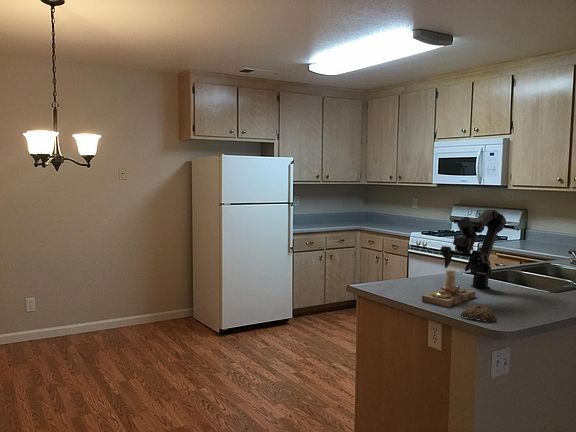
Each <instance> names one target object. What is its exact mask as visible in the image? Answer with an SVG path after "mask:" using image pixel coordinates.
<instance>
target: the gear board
mask: <svg viewBox="0 0 576 432" xmlns="http://www.w3.org/2000/svg"><path fill="white" fill-rule="evenodd" d="M437 291H444V290H441V289H438V290H436V291H434V292H437ZM444 292H445V291H444ZM475 297H476V291H475V290H472V289H471V290H470V289H467V290H466V292H461V293H459V292H454V295H453V296H452V295H451V298H446V299H443V298H436V297H434V296H432V292H429V293H426V294H422V295H421V302H423V303H428V304H433V305H437V306H441V307H445V306H446V307H445V308H450V307H452V305H453V306H455V305H458V304H461V303H463V302H465V300H466V301H467V300H470V298H471V299H473V298H475ZM462 301H463V302H462ZM457 303H458V304H457ZM454 304H455V305H454ZM449 306H450V307H449Z"/></svg>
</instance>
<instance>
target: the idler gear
mask: <svg viewBox="0 0 576 432" xmlns="http://www.w3.org/2000/svg"><path fill="white" fill-rule="evenodd" d="M456 272H457V271H456V270H453V269H446V270H445V282H444V285H442V286H440V290H444V291H445V292H447V293H449V294H451V295H452V296H453V295H454V292H457V291H459V288H456V287H455V286H456Z"/></svg>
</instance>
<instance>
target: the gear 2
mask: <svg viewBox="0 0 576 432" xmlns="http://www.w3.org/2000/svg"><path fill="white" fill-rule="evenodd" d="M455 287H456V288H459V291H457V292H459V293H461V292H466V290H468V289H467V288H465V287H463V286H460V285H455Z"/></svg>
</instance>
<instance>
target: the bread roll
mask: <svg viewBox="0 0 576 432" xmlns="http://www.w3.org/2000/svg"><path fill="white" fill-rule="evenodd" d="M460 315H461V316H463V317H468V318H473V319H480V320H486V321H492V322H494V321H496V316H495V313H494V311H493V310H492V309H491V308H489V307H487V306H485V305H481V304H478V305H475V304H474V305H472V306H469V307H468V308H466V309H465V310H463V311H462V312H461V313H460ZM461 316H460V317H461ZM493 320H494V321H493Z"/></svg>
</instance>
